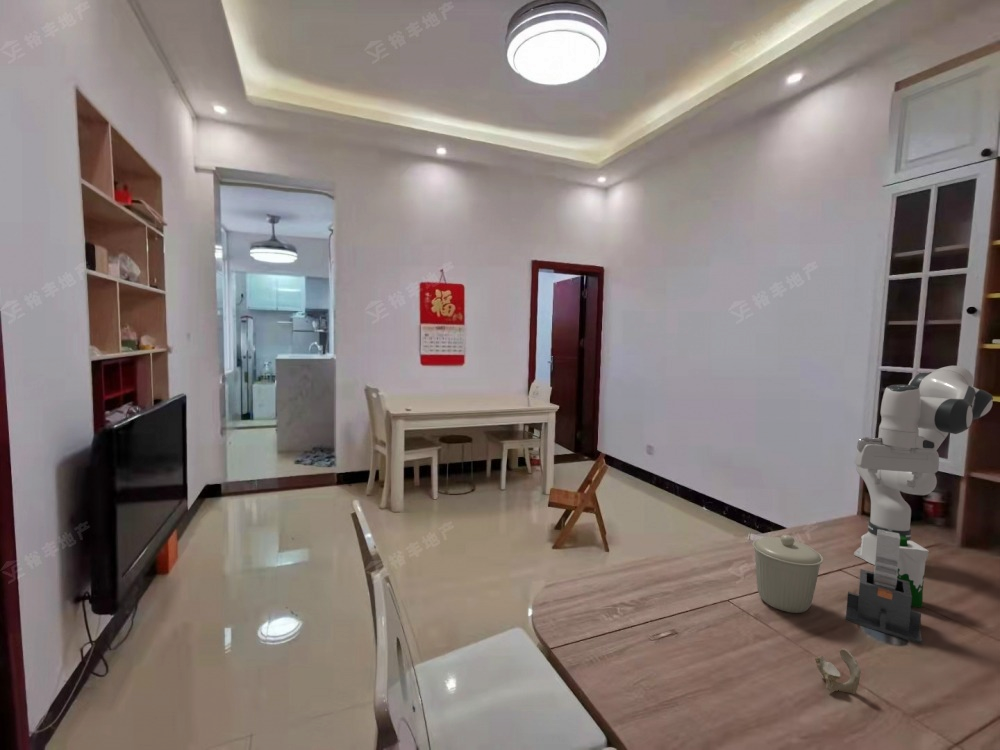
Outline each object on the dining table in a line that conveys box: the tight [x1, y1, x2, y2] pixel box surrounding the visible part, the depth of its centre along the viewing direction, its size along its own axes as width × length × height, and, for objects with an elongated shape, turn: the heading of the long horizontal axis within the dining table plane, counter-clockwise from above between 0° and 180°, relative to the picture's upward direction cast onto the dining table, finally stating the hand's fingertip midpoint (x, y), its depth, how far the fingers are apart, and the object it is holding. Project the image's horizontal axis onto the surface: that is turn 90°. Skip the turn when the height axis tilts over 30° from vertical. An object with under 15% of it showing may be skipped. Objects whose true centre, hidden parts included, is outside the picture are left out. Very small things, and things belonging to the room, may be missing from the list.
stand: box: [845, 568, 923, 645], centre depth 130 cm, size 16×16×11 cm
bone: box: [814, 648, 862, 695], centre depth 103 cm, size 9×6×10 cm
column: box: [873, 529, 900, 590], centre depth 129 cm, size 6×5×24 cm
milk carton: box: [897, 536, 930, 609], centre depth 140 cm, size 9×9×20 cm
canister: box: [751, 534, 824, 614], centre depth 136 cm, size 18×18×21 cm
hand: (893, 485), depth 135 cm, fingers open, 8 cm apart
